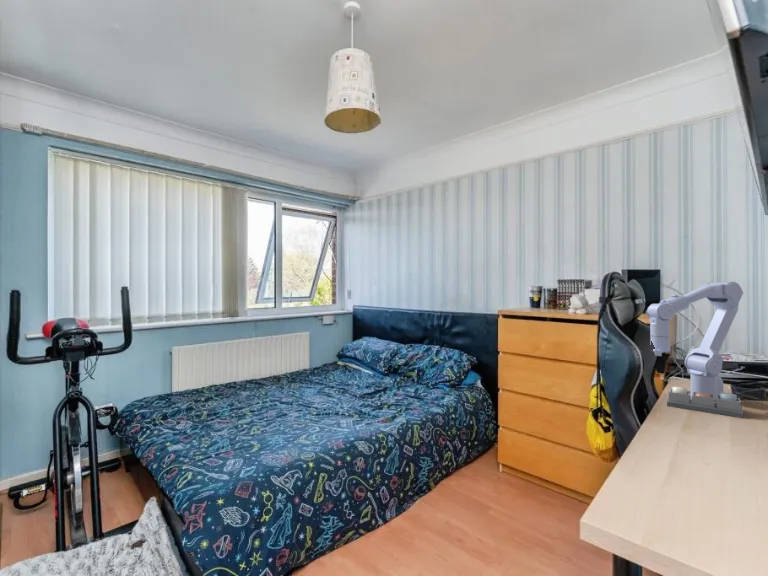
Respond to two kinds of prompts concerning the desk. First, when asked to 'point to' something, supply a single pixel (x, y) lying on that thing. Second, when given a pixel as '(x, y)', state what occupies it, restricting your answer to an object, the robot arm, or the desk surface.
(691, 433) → the desk surface
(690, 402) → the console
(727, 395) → the bluegrey button
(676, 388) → the cream button
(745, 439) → the desk surface
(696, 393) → the terracotta button
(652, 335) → the robot arm
